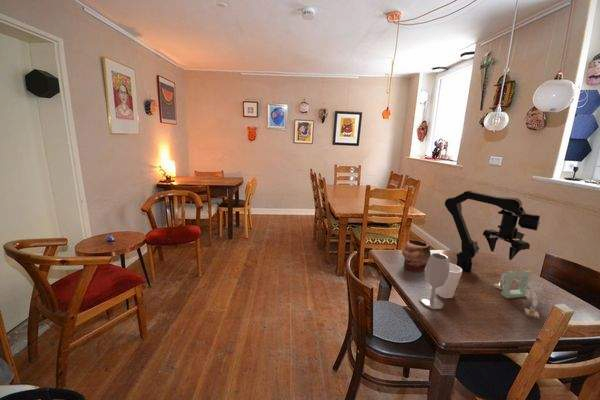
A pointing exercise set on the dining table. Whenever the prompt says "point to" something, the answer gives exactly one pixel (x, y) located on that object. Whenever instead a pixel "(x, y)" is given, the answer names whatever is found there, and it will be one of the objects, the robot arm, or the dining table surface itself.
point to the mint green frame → (508, 281)
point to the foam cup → (450, 282)
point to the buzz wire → (531, 311)
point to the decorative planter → (416, 255)
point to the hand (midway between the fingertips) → (501, 255)
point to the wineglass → (435, 278)
